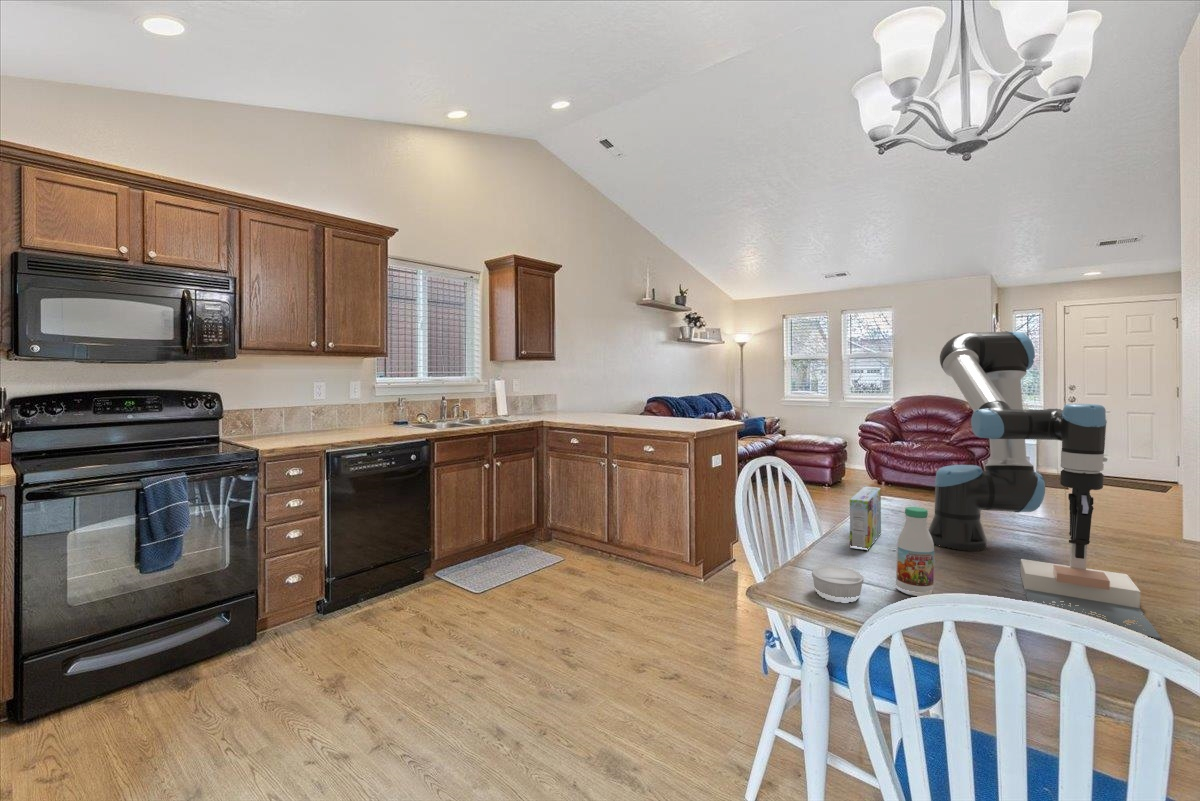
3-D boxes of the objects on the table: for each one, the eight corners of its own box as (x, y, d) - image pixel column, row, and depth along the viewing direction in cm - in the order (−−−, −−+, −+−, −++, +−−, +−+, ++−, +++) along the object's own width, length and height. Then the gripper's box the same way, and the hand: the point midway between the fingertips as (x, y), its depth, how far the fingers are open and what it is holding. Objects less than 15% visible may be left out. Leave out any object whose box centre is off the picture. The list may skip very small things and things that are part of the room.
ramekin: (838, 609, 122) (838, 586, 122) (800, 591, 133) (801, 569, 132) (874, 600, 127) (874, 578, 127) (835, 583, 137) (836, 562, 137)
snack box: (862, 531, 180) (863, 485, 179) (881, 534, 177) (882, 487, 176) (848, 549, 163) (849, 498, 162) (869, 552, 160) (870, 500, 159)
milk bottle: (888, 586, 135) (890, 505, 134) (918, 584, 136) (921, 504, 135) (909, 599, 127) (911, 513, 126) (940, 597, 128) (943, 512, 127)
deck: (1024, 590, 132) (1025, 573, 132) (1020, 574, 142) (1020, 558, 142) (1139, 609, 121) (1140, 591, 121) (1126, 590, 131) (1126, 574, 131)
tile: (1056, 581, 127) (1057, 573, 127) (1053, 573, 132) (1053, 565, 132) (1109, 589, 122) (1109, 581, 122) (1103, 580, 127) (1103, 572, 127)
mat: (1031, 615, 119) (1031, 613, 119) (1024, 590, 132) (1024, 588, 132) (1161, 639, 108) (1161, 638, 108) (1139, 609, 121) (1139, 608, 121)
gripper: (1109, 476, 121) (1105, 582, 123) (1097, 467, 132) (1093, 565, 133) (1065, 473, 125) (1061, 575, 127) (1056, 465, 136) (1053, 559, 138)
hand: (1077, 570), depth 130 cm, fingers closed
